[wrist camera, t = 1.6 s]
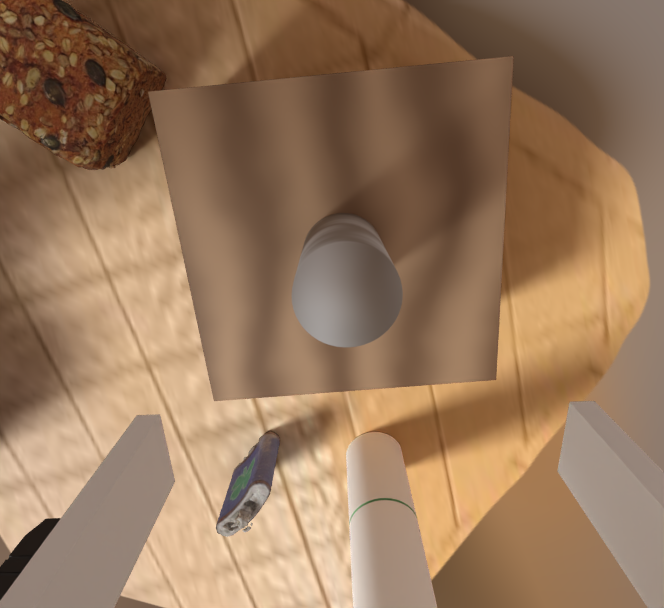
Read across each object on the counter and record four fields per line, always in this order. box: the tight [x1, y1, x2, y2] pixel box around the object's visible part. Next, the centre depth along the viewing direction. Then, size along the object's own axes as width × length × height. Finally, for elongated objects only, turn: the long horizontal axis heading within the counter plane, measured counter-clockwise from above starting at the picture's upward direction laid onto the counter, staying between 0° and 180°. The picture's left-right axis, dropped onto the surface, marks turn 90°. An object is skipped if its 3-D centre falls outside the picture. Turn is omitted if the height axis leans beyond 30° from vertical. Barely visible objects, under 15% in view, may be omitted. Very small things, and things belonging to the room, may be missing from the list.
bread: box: [0, 0, 166, 170], centre depth 35 cm, size 19×11×10 cm, turn 55°
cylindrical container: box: [346, 432, 437, 608], centre depth 43 cm, size 7×7×25 cm
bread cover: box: [148, 56, 514, 401], centre depth 34 cm, size 24×24×23 cm
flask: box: [216, 431, 280, 536], centre depth 50 cm, size 9×3×11 cm, turn 143°
